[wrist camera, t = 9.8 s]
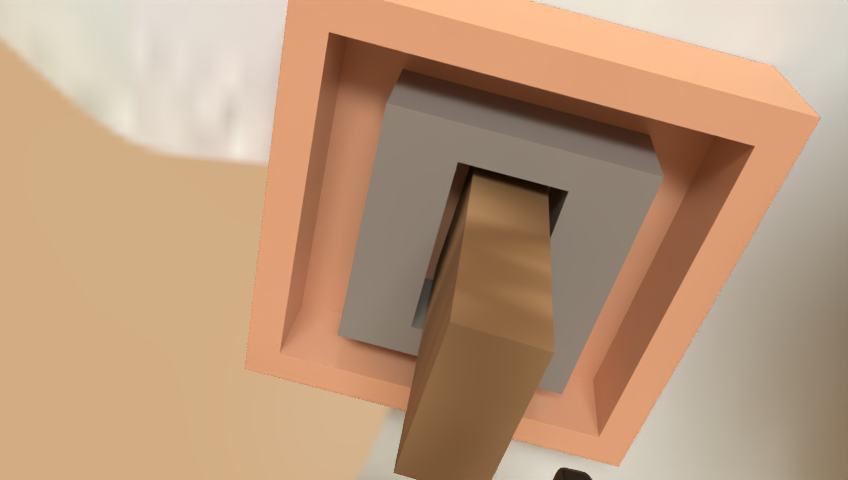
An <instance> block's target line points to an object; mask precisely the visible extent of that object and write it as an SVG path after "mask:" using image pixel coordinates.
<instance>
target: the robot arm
mask: <svg viewBox="0 0 848 480" xmlns="http://www.w3.org/2000/svg"><path fill="white" fill-rule="evenodd" d="M553 480H592V479H591V477H590V476H589V475H588V474H587V473H585V472H582V471H578V470H573V469H569V468H560V469H559V470H558V471H557V472H556V474H555V476H554V479H553Z"/></svg>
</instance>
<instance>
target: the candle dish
mask: <svg viewBox="0 0 848 480" xmlns="http://www.w3.org/2000/svg"><path fill="white" fill-rule="evenodd" d="M819 120H820V117H819V115H818V114H817V113H816V112H815V111H814V110H813V109H812V108H811V107H810V105H809V104H808V103H807V102H806V101H805V100H804V99H803V98H802V97H801V95H800V94H799V93H798V92H797V91H796V90H795V89H794V88H793V86H792V85H791V84H790V83H789V82H788V81H787V80H786V79H785V78H784V76H783V75H782V74H781V73H780V72H779V71H778V70H777V69H776V68H775V67H774V66H770V65H766V64H763V63H759V62H755V61H752V60H748V59H744V58H740V57H737V56H733V55H729V54H726V53H722V52H718V51H715V50H711V49H707V48H703V47H700V46H696V45H692V44H689V43H685V42H681V41H677V40H674V39H670V38H666V37H663V36H659V35H655V34H651V33H648V32H644V31H640V30H637V29H633V28H629V27H625V26H622V25H618V24H614V23H611V22H607V21H603V20H599V19H596V18H592V17H588V16H585V15H581V14H577V13H573V12H570V11H566V10H562V9H559V8H555V7H551V6H548V5H544V4H540V3H536V2H533V1H529V0H288V7H287V16H286V24H285V32H284V41H283V49H282V58H281V66H280V75H279V83H278V91H277V100H276V108H275V117H274V125H273V133H272V142H271V150H270V159H269V167H268V176H267V184H266V192H265V201H264V209H263V218H262V226H261V236H260V243H259V251H258V261H257V268H256V277H255V285H254V293H253V302H252V311H251V319H250V327H249V336H248V344H247V353H246V361H245V369H248V370H252V371H255V372H259V373H263V374H267V375H271V376H274V377H278V378H282V379H286V380H290V381H293V382H297V383H301V384H305V385H309V386H312V387H316V388H320V389H324V390H328V391H332V392H335V393H340V394H343V395H347V396H351V397H355V398H358V399H362V400H366V401H370V402H374V403H377V404H381V405H385V406H389V407H393V408H396V409H400V410H404V411H406V410H407V405H408V401H409V396H410V391H411V386H412V381H413V376H414V371H415V367H416V362H417V357H418V352H419V347H420V342H421V337H422V333H423V328H424V323H425V318H426V313H427V308H428V303H429V299H430V294H431V289H432V284H433V279H434V274H435V269H436V265H437V262H438V259H439V256H440V253H441V251H442V248H443V245H444V242H445V239H446V236H447V233H448V230H449V227H450V224H451V221H452V218H453V215H454V212H455V209H456V206H457V203H458V200H459V197H460V194H461V192H462V189H463V186H464V183H465V180H466V177H467V174H468V171H469V168H470V165H471V166H475V167H479V168H483V169H486V170H490V171H494V172H498V173H501V174H505V175H509V176H513V177H516V178H520V179H524V180H528V181H531V182H535V183H539V184H543V185H546V186H548V199H549V225H550V251H551V276H552V302H553V328H554V355H553V357H552V359H551V361H550V363H549V365H548V367H547V369H546V371H545V373H544V375H543V377H542V379H541V381H540V383H539V385H538V387H537V389H536V391H535V393H534V395H533V397H532V399H531V401H530V403H529V405H528V407H527V409H526V411H525V413H524V415H523V417H522V419H521V421H520V423H519V425H518V427H517V429H516V431H515V433H514V435H513V437H512V439H515V440H519V441H522V442H526V443H530V444H534V445H538V446H542V447H545V448H549V449H553V450H557V451H561V452H564V453H568V454H572V455H576V456H580V457H584V458H587V459H591V460H595V461H599V462H603V463H606V464H610V465H614V466H618V467H619V465H620V463H621V462H622V460H623V458H624V456H625V455H626V453H627V451H628V449H629V448H630V446H631V444H632V443H633V441H634V439H635V437H636V436H637V434H638V432H639V430H640V429H641V427H642V425H643V424H644V422H645V420H646V418H647V417H648V415H649V413H650V411H651V410H652V408H653V406H654V405H655V403H656V401H657V399H658V398H659V396H660V394H661V392H662V391H663V389H664V387H665V386H666V384H667V382H668V380H669V379H670V377H671V375H672V373H673V372H674V370H675V368H676V367H677V365H678V363H679V361H680V360H681V358H682V356H683V354H684V353H685V351H686V349H687V348H688V346H689V344H690V342H691V341H692V339H693V337H694V335H695V334H696V332H697V330H698V329H699V327H700V325H701V323H702V322H703V320H704V318H705V316H706V315H707V313H708V311H709V310H710V308H711V306H712V304H713V303H714V301H715V299H716V297H717V296H718V294H719V292H720V291H721V289H722V287H723V285H724V284H725V282H726V280H727V278H728V277H729V275H730V273H731V272H732V270H733V268H734V266H735V265H736V263H737V261H738V259H739V258H740V256H741V254H742V253H743V251H744V249H745V247H746V246H747V244H748V242H749V240H750V239H751V237H752V235H753V234H754V232H755V230H756V228H757V227H758V225H759V223H760V221H761V220H762V218H763V216H764V215H765V213H766V211H767V209H768V208H769V206H770V204H771V202H772V201H773V199H774V197H775V196H776V194H777V192H778V190H779V189H780V187H781V185H782V183H783V182H784V180H785V178H786V177H787V175H788V173H789V171H790V170H791V168H792V166H793V164H794V163H795V161H796V159H797V158H798V156H799V154H800V152H801V151H802V149H803V147H804V145H805V144H806V142H807V140H808V139H809V137H810V135H811V133H812V132H813V130H814V128H815V126H816V125H817V123H818V121H819Z"/></svg>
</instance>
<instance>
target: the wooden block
mask: <svg viewBox="0 0 848 480" xmlns="http://www.w3.org/2000/svg"><path fill="white" fill-rule="evenodd" d="M553 355H554V328H553V302H552V276H551V251H550V225H549V199H548V186H546V185H543V184H539V183H535V182H531V181H528V180H524V179H520V178H516V177H513V176H509V175H505V174H501V173H498V172H494V171H490V170H486V169H483V168H479V167H475V166H471V165H470V168H469V171H468V174H467V177H466V180H465V183H464V186H463V189H462V192H461V194H460V197H459V200H458V203H457V206H456V209H455V212H454V215H453V218H452V221H451V224H450V227H449V230H448V233H447V236H446V239H445V242H444V245H443V248H442V251H441V253H440V256H439V259H438V262H437V265H436V269H435V274H434V279H433V284H432V289H431V294H430V299H429V303H428V308H427V313H426V318H425V323H424V328H423V333H422V337H421V342H420V347H419V352H418V357H417V362H416V367H415V371H414V376H413V381H412V386H411V391H410V396H409V401H408V405H407V410H406V415H405V420H404V425H403V430H402V435H401V439H400V444H399V449H398V454H397V459H396V464H395V469H394V473H396V474H399V475H403V476H406V477H410V478H413V479H417V480H492V478H493V476H494V474H495V472H496V470H497V468H498V466H499V463H500V461H501V459H502V457H503V455H504V453H505V451H506V449H507V447H508V445H509V443H510V441H511V439H512V437H513V435H514V433H515V431H516V429H517V427H518V425H519V423H520V421H521V419H522V417H523V415H524V413H525V411H526V409H527V407H528V405H529V403H530V401H531V399H532V397H533V395H534V393H535V391H536V389H537V387H538V385H539V383H540V381H541V379H542V377H543V375H544V373H545V371H546V369H547V367H548V365H549V363H550V361H551V359H552V357H553Z"/></svg>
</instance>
